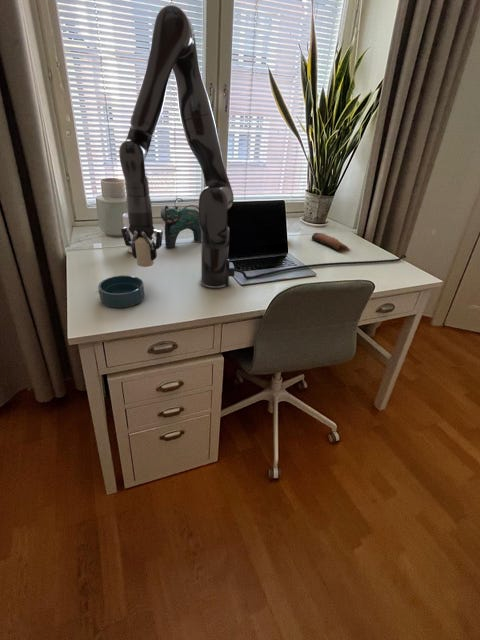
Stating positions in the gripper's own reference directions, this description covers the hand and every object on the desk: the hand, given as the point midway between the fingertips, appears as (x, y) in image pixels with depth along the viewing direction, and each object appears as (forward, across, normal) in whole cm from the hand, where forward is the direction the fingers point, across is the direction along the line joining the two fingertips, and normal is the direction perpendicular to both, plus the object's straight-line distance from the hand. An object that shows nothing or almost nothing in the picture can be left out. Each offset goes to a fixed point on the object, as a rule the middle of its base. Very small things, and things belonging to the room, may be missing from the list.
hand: (144, 258), depth 120 cm
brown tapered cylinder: (+8, -67, -59) cm, 89 cm away
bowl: (+7, +1, +17) cm, 18 cm away
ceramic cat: (+7, -1, -37) cm, 38 cm away
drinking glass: (+7, +14, -22) cm, 27 cm away
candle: (+2, 0, 0) cm, 2 cm away
